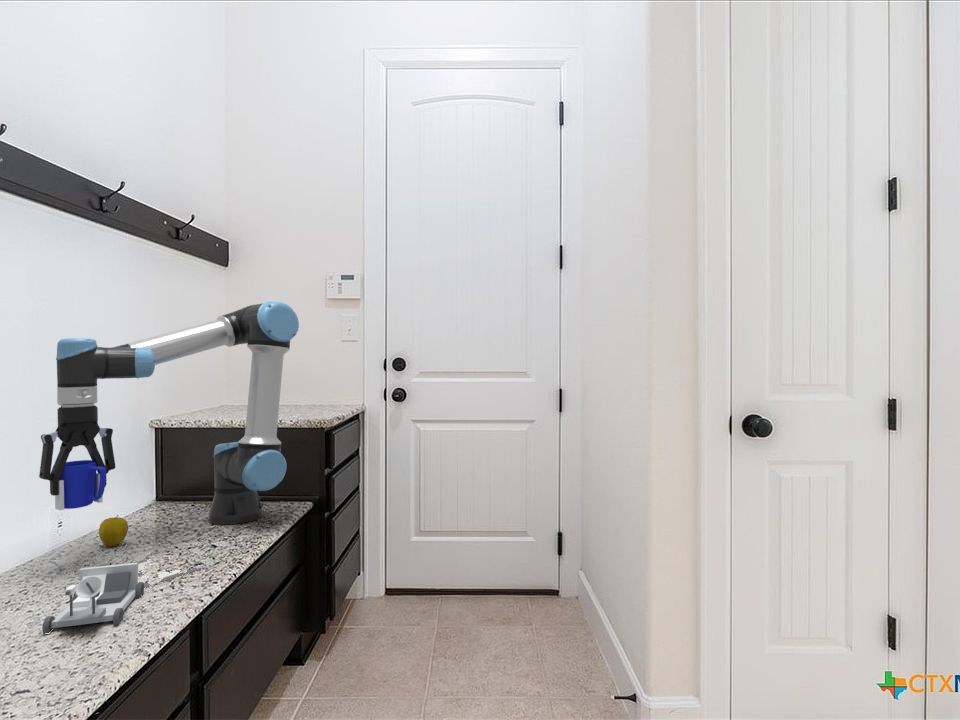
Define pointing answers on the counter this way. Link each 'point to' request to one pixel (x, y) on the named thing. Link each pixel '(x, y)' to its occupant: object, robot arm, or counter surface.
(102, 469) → the mug
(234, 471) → the robot arm
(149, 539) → the counter surface
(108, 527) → the apple
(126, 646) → the counter surface
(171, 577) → the label panel
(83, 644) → the counter surface
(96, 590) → the toy car
